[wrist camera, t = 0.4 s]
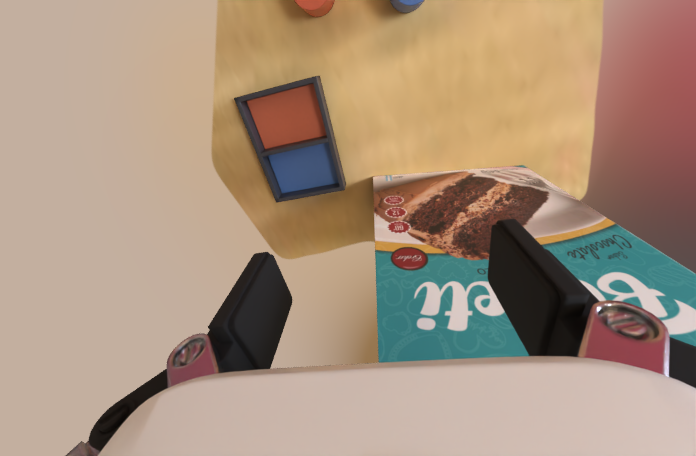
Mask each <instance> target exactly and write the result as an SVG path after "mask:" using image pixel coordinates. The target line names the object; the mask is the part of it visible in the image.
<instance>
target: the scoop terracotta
mask: <svg viewBox="0 0 696 456" xmlns="http://www.w3.org/2000/svg"><path fill="white" fill-rule="evenodd" d="M294 1H295V2H296V3H297V4H298V5H299V6H300V7H301V8H302V9H303V10H304V11H305V12H307V13H308V14H309V15H311V16H314V17H320V16H323V15H325V14H327V13H328V12H329V11H330V9H331V8H332V6H333V4H334V1H335V0H294Z"/></svg>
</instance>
